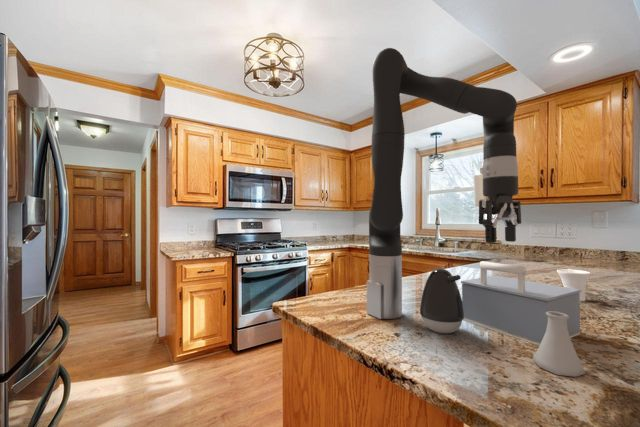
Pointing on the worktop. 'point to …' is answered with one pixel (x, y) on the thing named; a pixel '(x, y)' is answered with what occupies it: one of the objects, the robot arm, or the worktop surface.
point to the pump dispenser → (441, 302)
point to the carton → (517, 312)
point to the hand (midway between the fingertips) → (501, 242)
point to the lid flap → (517, 283)
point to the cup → (574, 280)
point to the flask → (558, 348)
